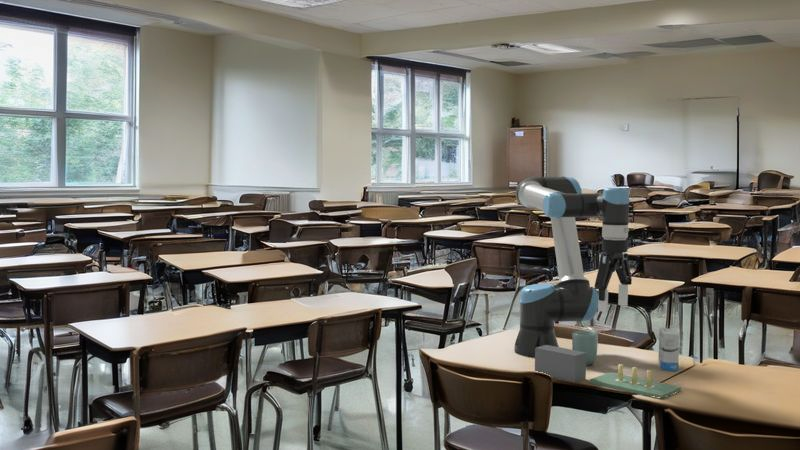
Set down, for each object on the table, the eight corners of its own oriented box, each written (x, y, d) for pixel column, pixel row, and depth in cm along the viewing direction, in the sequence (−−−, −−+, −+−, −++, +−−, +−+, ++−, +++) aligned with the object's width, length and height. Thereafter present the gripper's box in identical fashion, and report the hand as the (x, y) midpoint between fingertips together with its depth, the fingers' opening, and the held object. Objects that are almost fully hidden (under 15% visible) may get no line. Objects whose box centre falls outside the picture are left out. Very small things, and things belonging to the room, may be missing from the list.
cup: (601, 363, 230) (601, 333, 230) (589, 368, 225) (590, 336, 224) (579, 359, 236) (580, 329, 235) (567, 363, 230) (568, 333, 229)
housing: (534, 373, 218) (535, 347, 217) (545, 370, 222) (546, 344, 221) (574, 382, 208) (575, 355, 207) (585, 378, 212) (586, 352, 211)
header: (589, 382, 207) (589, 364, 207) (610, 375, 216) (610, 357, 216) (661, 399, 192) (662, 379, 192) (681, 390, 200) (681, 371, 200)
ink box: (678, 371, 221) (679, 334, 220) (662, 370, 222) (663, 333, 221) (673, 364, 229) (674, 328, 229) (657, 364, 230) (658, 328, 230)
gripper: (607, 242, 203) (605, 315, 204) (644, 237, 221) (642, 304, 223) (583, 240, 208) (582, 312, 209) (621, 235, 226) (619, 301, 228)
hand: (613, 308), depth 216 cm, fingers open, 13 cm apart
